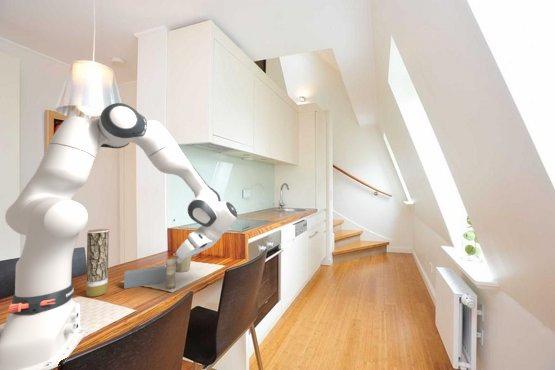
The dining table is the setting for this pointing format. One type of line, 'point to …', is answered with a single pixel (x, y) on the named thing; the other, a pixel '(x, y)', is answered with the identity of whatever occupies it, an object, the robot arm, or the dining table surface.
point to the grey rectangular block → (144, 277)
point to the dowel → (170, 273)
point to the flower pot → (182, 264)
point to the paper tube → (97, 262)
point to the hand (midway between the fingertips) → (186, 258)
